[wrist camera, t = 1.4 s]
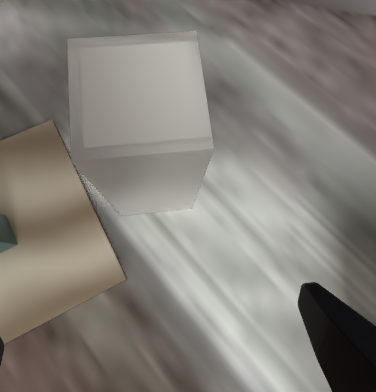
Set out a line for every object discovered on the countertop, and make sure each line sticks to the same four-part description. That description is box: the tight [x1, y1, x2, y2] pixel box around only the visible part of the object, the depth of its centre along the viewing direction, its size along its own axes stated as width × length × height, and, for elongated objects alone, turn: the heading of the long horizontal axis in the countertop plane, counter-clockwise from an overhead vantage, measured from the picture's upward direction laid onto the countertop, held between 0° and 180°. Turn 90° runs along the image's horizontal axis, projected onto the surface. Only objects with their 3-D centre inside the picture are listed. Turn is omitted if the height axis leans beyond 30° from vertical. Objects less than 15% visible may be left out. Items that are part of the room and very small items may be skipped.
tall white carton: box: [67, 31, 214, 216], centre depth 18 cm, size 5×5×12 cm
